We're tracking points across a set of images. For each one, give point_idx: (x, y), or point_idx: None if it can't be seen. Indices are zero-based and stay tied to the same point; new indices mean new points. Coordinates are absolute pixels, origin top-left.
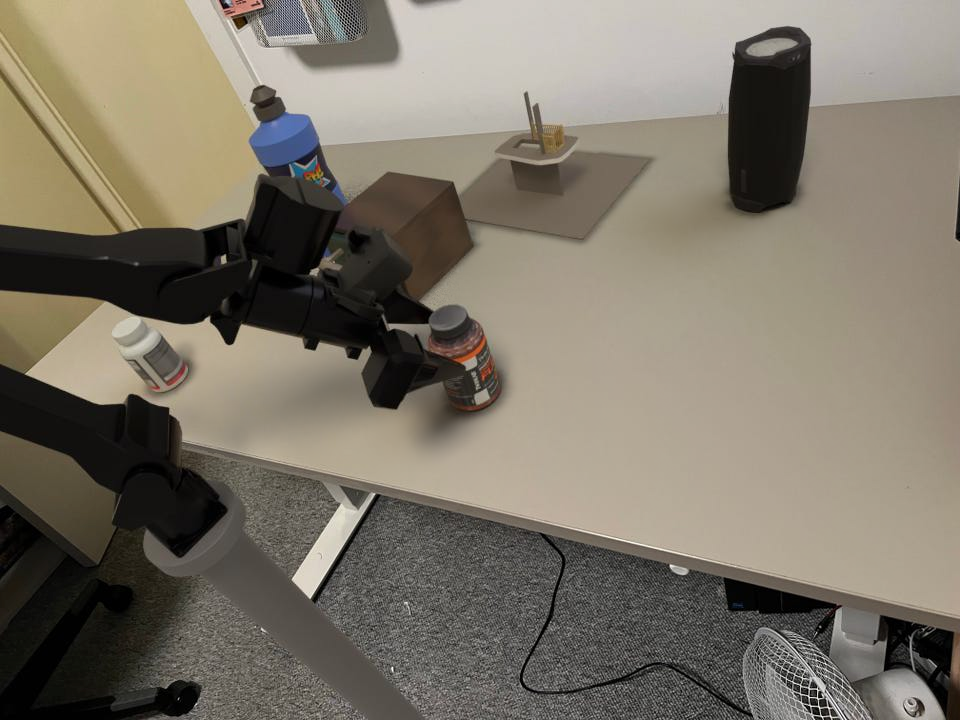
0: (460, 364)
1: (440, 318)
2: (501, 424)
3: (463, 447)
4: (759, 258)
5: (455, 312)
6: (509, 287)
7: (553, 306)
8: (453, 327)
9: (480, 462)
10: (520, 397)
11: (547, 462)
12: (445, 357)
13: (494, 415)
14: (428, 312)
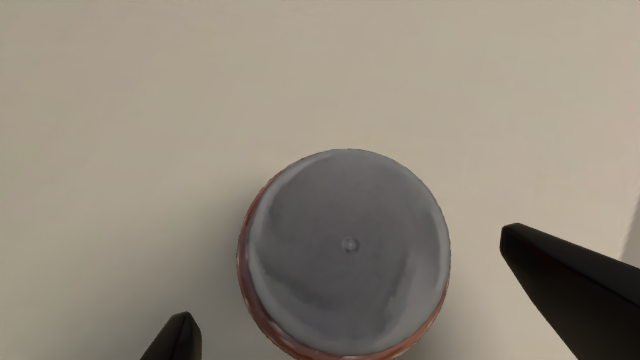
0: (534, 234)
1: (352, 282)
2: None
3: (478, 300)
4: None
5: (333, 199)
6: (33, 151)
7: (148, 77)
8: (443, 218)
9: None
10: None
11: (535, 148)
12: (601, 279)
13: None
14: (177, 357)
